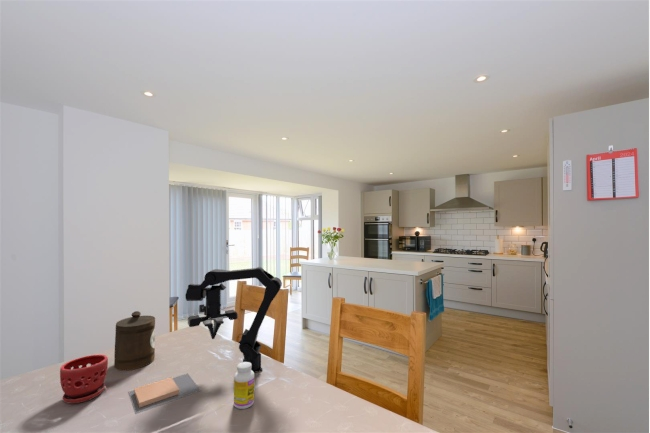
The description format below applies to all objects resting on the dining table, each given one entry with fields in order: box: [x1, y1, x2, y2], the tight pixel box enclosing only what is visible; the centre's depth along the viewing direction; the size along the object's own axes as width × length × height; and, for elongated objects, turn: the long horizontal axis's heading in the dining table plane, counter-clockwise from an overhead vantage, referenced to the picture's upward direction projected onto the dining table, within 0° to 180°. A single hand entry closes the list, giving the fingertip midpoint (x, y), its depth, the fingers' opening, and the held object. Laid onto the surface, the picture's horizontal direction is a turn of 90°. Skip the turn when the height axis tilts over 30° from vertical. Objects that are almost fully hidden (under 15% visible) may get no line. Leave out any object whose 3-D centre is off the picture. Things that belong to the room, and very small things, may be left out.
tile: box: [133, 376, 179, 408], centre depth 104 cm, size 2×11×12 cm
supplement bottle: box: [233, 361, 255, 410], centre depth 100 cm, size 7×7×13 cm
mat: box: [128, 373, 202, 415], centre depth 106 cm, size 20×16×1 cm
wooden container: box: [113, 310, 156, 371], centre depth 129 cm, size 15×15×22 cm
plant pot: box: [59, 354, 109, 404], centre depth 104 cm, size 13×13×12 cm
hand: (213, 338), depth 122 cm, fingers closed
